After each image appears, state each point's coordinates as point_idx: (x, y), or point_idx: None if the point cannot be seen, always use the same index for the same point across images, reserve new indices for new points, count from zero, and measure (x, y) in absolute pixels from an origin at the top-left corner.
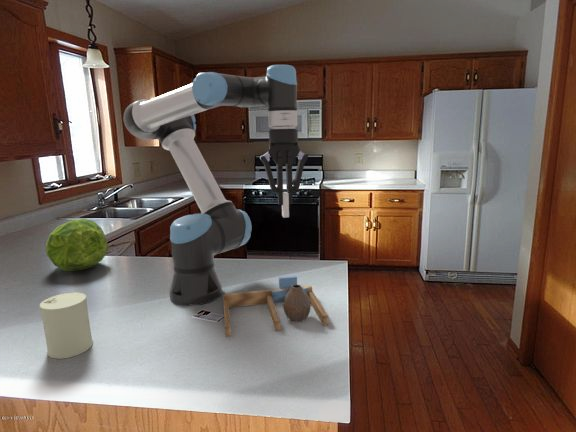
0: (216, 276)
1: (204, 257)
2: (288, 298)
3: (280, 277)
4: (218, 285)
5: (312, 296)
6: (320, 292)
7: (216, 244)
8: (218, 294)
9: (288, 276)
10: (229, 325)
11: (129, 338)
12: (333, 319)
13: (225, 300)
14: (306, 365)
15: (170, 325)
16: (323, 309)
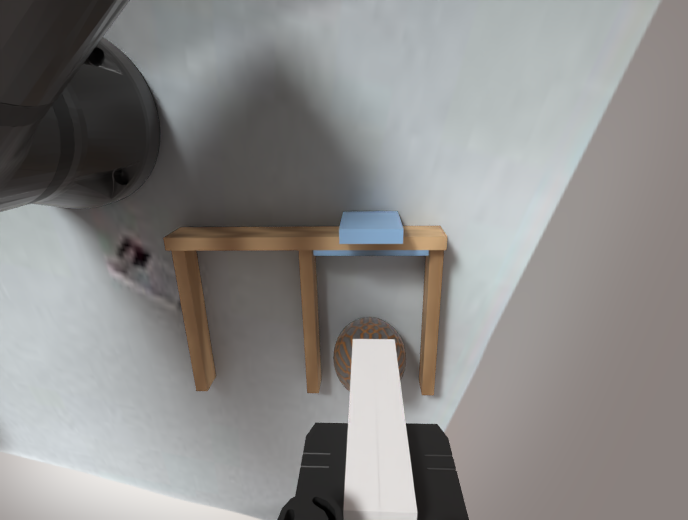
0: (109, 141)
1: (8, 201)
2: (343, 385)
3: (344, 233)
4: (135, 154)
5: (431, 287)
6: (480, 195)
7: (10, 152)
8: (150, 164)
9: (374, 230)
10: (205, 388)
11: (2, 339)
12: (452, 359)
13: (178, 256)
14: None
15: (69, 303)
16: (434, 366)
